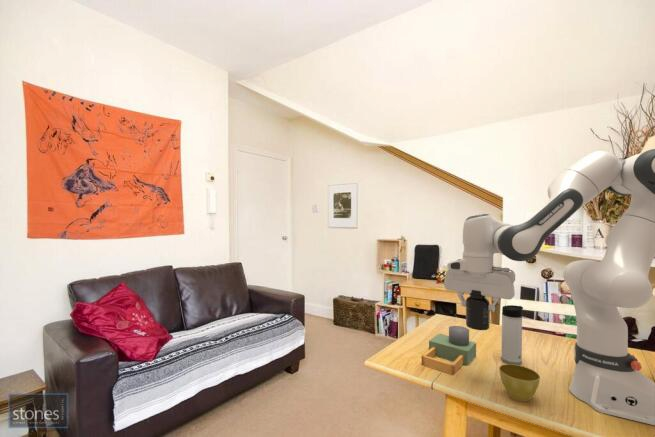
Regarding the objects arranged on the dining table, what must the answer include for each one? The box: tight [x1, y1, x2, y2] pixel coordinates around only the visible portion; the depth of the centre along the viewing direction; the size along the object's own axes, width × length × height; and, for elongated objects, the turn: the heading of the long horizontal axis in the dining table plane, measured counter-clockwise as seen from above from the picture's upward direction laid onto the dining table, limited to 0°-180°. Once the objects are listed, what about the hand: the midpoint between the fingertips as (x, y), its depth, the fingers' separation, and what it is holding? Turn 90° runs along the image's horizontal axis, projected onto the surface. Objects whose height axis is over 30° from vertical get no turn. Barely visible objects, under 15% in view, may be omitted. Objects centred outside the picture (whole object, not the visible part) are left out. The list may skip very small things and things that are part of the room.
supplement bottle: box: [465, 290, 491, 331], centre depth 100 cm, size 7×7×12 cm
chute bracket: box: [421, 347, 464, 376], centre depth 110 cm, size 11×10×3 cm
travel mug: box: [500, 304, 524, 366], centre depth 113 cm, size 6×7×20 cm
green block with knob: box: [428, 325, 477, 366], centre depth 118 cm, size 14×10×10 cm
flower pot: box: [498, 363, 541, 402], centre depth 91 cm, size 10×10×7 cm
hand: (477, 308), depth 100 cm, fingers closed on supplement bottle, 7 cm apart
